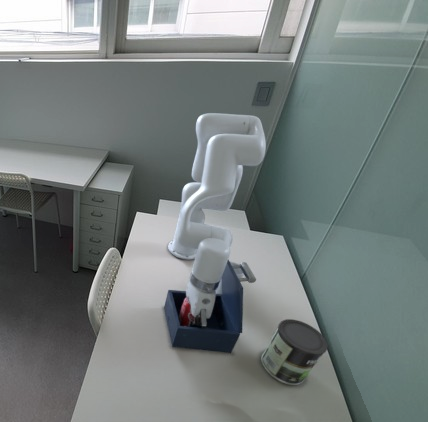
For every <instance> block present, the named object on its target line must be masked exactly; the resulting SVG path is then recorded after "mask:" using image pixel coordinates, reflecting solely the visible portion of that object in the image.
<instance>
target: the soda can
mask: <svg viewBox="0 0 428 422" xmlns="http://www.w3.org/2000/svg"><path fill="white" fill-rule="evenodd" d="M199 314H200V313H199ZM196 320H197V321H200V317H196ZM191 321H193V315H192V313H191V304H190V301H189V298H188V296H187V297H186V298H185V300H184V302H183V305H182V308H181V311H180V315H179V323H180V326H186V327H190V324H191ZM202 327H203V326H202Z"/></svg>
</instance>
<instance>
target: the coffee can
mask: <svg viewBox="0 0 428 422" xmlns="http://www.w3.org/2000/svg"><path fill="white" fill-rule="evenodd" d="M328 345H329V344H328V342H327V340H326V338H325V337H324V335H323V334H322V333H321V332H320V331H319V330H317V329H316V328H314V327H313V326H311V325H310V324H308V323H306V322H303V321H301V320H297V319H291V318H289V319H288V318H287V319H283V320H281V321H280V322H279V323H278V327H277V329H276V330H275V332H274V334H273V336H272V338H271V339H270V341H269V343H268V345H267V346H266V348H265V350H264V351H263V353H262V354H261V357H260V360H261V364H262V366H263V368H264V369H265V371H266V372H267V373H268V374H269V376H271V377H272V378H274V379H275V380H276V381H279V382H280V383H283V384H286V385H289V386H298V385H301V384H302V383H303V382H304V381H305V379H306V378H307V376H308V375H309V374H310V372H311V371H312V370H313V369H314V367H315V365H316V364H317V363H318V361H319V360H320V358H321V357H322V356H323V355H324V354H325V353H326V352H327V350H328V347H329V346H328Z"/></svg>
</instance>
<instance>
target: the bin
mask: <svg viewBox="0 0 428 422" xmlns="http://www.w3.org/2000/svg"><path fill="white" fill-rule="evenodd" d="M185 298H186V290H176V289H168V290H167V295H166V298H165V302H164V305H163V311H164V315H165V320H166V325H167V329H168V335H169V339H170V345H171V348H177V349H178V348H179V349H187V350H197V351H206V352H207V351H208V352H215V353H216V352H217V353H226V354H232V353H233V350H234V348H235V346H236V344H237V342H238V340H239V337H240V335H241V333H239V332H238V329H237V327H236V325H235V322H234V320H233V318H232V315H231V313H230V311H229V309H228V306H227V304H226V302H225V299H224V297H223V295H222V294H216V297H215V303H214V307H213V310H212V314H211V316H210V318H206V327H204V326H203V327H202V328H196V327H186V326H180V323H179V315H180V311H181V308H182V305H183V302H184V300H185Z"/></svg>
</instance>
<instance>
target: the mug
mask: <svg viewBox="0 0 428 422" xmlns="http://www.w3.org/2000/svg"><path fill="white" fill-rule="evenodd" d="M230 263H231V265H232V266H234V265H240V263H241V262H234V261H230ZM234 271H235V273H236V275H237V277H238V278H244V276H245V275H244V273H243V272H242V270H241V268H237V269H234ZM216 294H222V279H221V280H220V283H219V286H218V288H217V290H216Z"/></svg>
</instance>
